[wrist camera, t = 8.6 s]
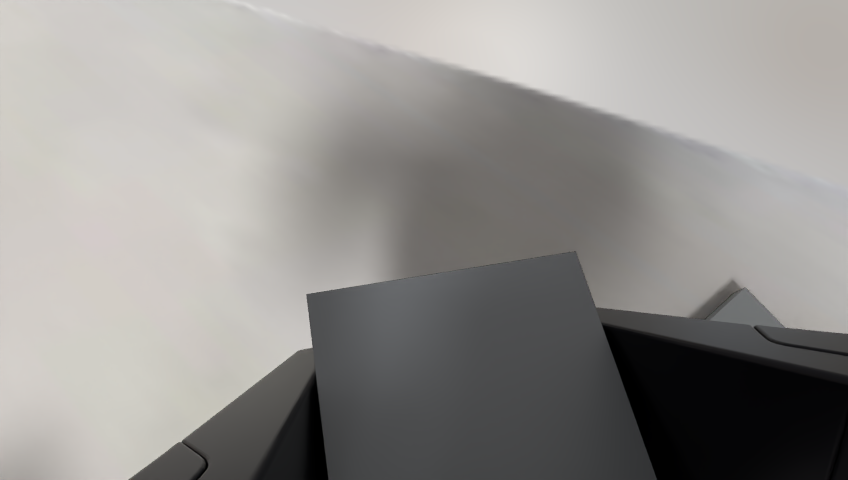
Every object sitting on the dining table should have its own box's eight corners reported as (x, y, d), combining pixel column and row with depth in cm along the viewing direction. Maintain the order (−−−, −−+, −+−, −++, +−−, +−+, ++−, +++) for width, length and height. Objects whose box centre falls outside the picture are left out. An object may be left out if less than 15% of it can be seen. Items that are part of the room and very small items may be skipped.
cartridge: (502, 508, 14) (688, 558, 6) (357, 545, 13) (344, 658, 5) (467, 363, 16) (577, 247, 8) (336, 389, 15) (302, 291, 7)
